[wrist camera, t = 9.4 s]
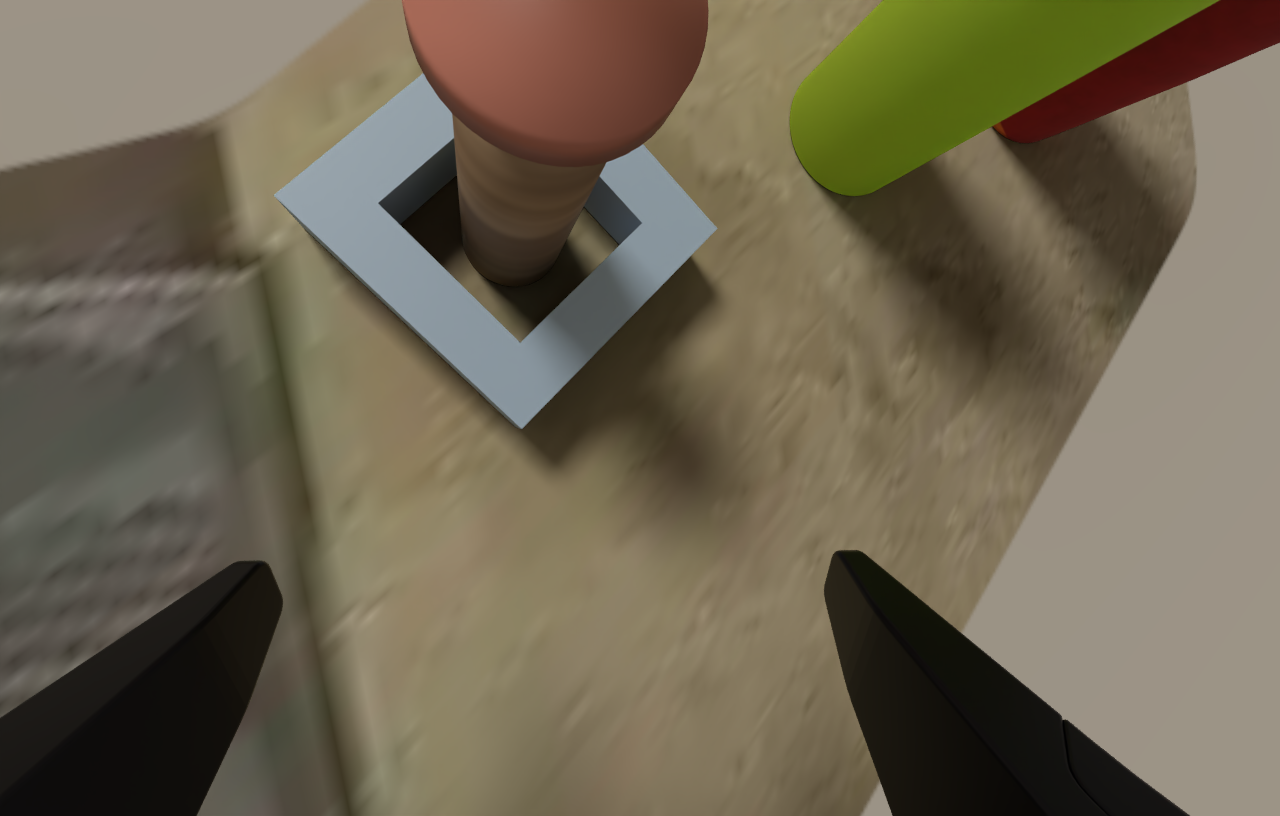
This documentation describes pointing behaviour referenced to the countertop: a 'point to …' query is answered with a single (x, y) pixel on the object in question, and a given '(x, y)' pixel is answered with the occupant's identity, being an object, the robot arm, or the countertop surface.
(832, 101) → the soap dispenser
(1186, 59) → the paper cup
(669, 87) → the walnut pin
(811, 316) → the countertop surface
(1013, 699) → the robot arm
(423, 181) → the hole block
